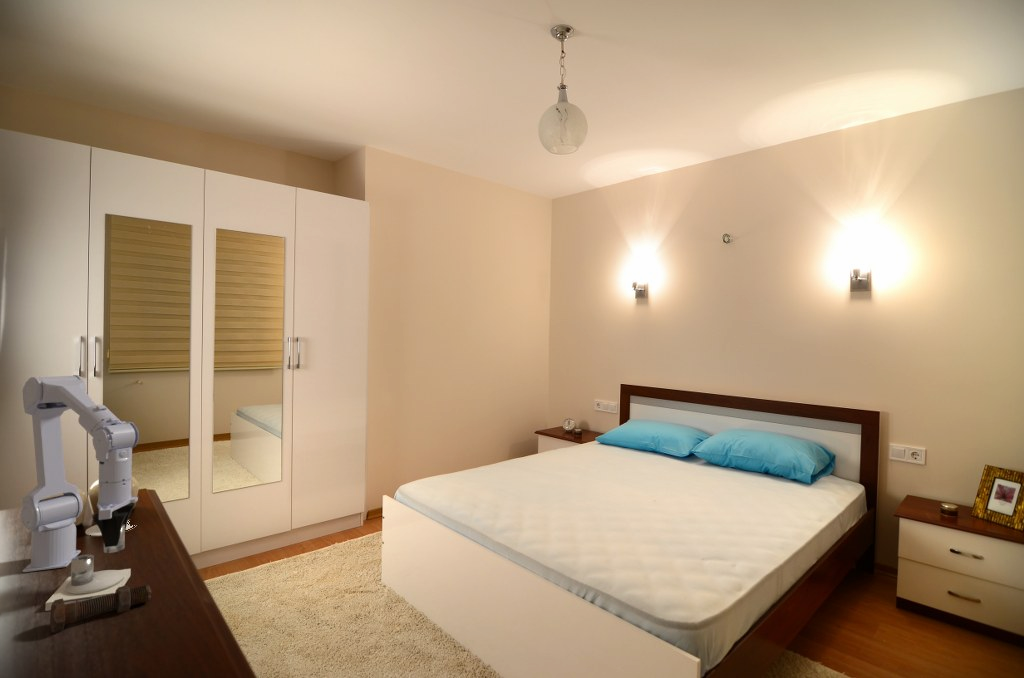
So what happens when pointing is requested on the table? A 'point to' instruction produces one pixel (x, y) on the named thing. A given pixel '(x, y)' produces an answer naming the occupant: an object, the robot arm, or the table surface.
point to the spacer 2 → (120, 545)
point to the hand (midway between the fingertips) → (114, 542)
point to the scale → (91, 587)
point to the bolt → (96, 606)
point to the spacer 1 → (82, 570)
